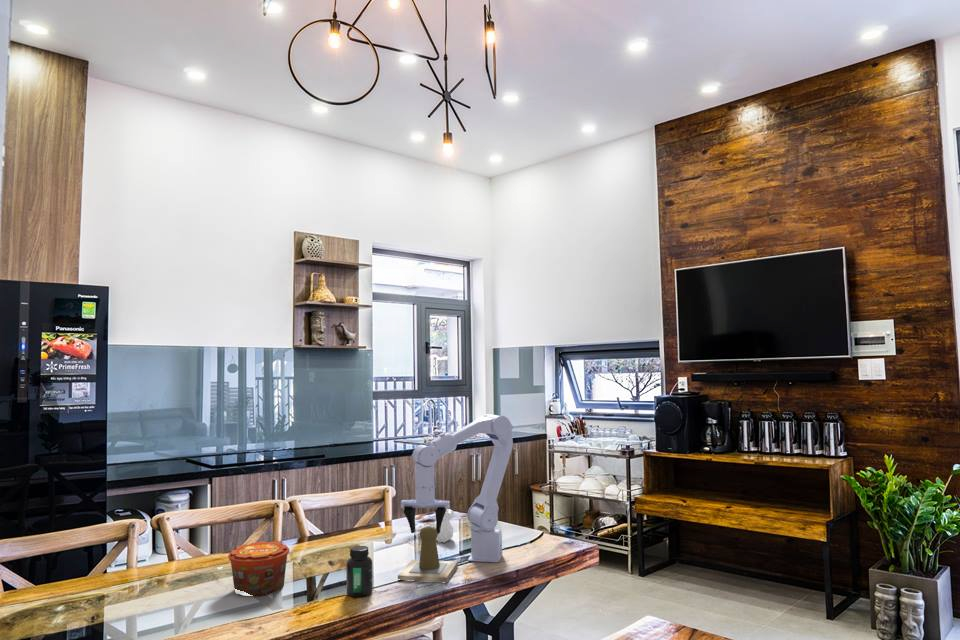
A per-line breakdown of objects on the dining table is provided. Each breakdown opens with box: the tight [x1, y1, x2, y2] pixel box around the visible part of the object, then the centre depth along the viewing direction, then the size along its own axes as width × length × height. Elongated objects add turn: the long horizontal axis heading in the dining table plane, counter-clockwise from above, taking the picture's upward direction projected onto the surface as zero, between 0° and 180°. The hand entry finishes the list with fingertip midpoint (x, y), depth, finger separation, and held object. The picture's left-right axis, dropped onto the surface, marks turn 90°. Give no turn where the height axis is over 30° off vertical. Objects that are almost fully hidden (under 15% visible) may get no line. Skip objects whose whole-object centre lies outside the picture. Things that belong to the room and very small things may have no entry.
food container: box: [227, 541, 290, 597], centre depth 182 cm, size 16×16×11 cm
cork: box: [419, 526, 440, 570], centre depth 192 cm, size 6×6×11 cm
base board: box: [397, 559, 459, 584], centre depth 191 cm, size 14×14×2 cm
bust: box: [432, 508, 455, 544], centre depth 225 cm, size 12×8×11 cm
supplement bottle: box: [345, 545, 374, 599], centre depth 176 cm, size 7×7×12 cm
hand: (425, 532), depth 196 cm, fingers open, 7 cm apart
